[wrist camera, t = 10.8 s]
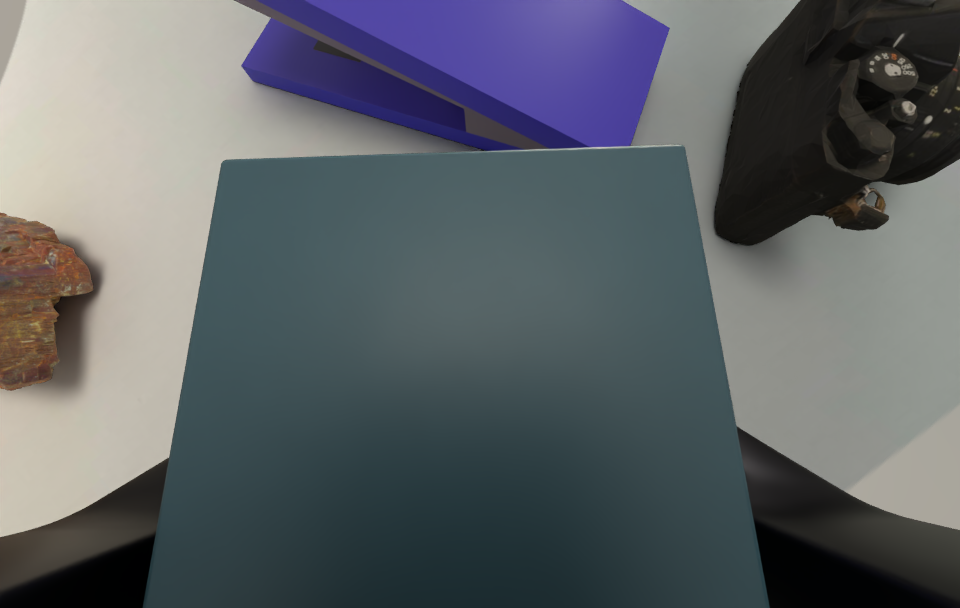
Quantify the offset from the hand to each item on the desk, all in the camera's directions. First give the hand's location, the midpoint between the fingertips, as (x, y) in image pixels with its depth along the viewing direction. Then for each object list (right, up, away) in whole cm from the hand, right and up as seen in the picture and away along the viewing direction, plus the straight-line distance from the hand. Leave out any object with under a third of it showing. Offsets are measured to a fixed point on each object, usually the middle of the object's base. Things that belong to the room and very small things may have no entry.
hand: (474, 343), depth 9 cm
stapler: (-2, +18, +17) cm, 25 cm away
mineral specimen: (-29, +1, +14) cm, 32 cm away
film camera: (+22, +12, +15) cm, 29 cm away
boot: (0, -1, +7) cm, 7 cm away
